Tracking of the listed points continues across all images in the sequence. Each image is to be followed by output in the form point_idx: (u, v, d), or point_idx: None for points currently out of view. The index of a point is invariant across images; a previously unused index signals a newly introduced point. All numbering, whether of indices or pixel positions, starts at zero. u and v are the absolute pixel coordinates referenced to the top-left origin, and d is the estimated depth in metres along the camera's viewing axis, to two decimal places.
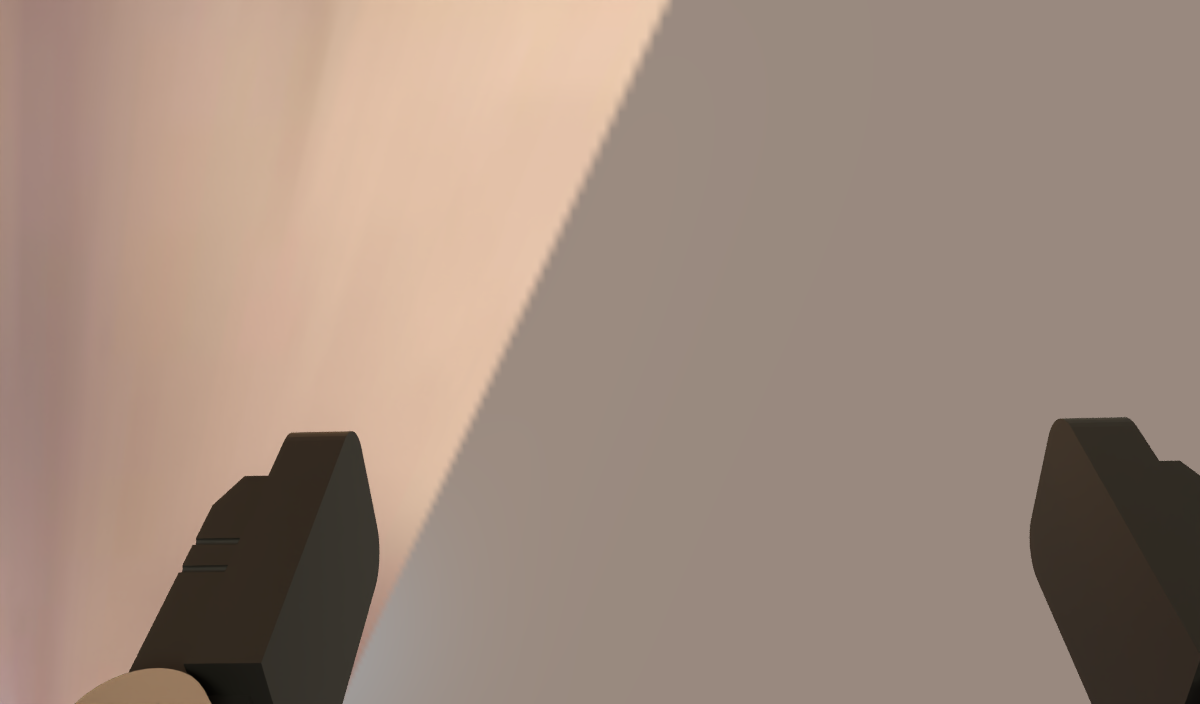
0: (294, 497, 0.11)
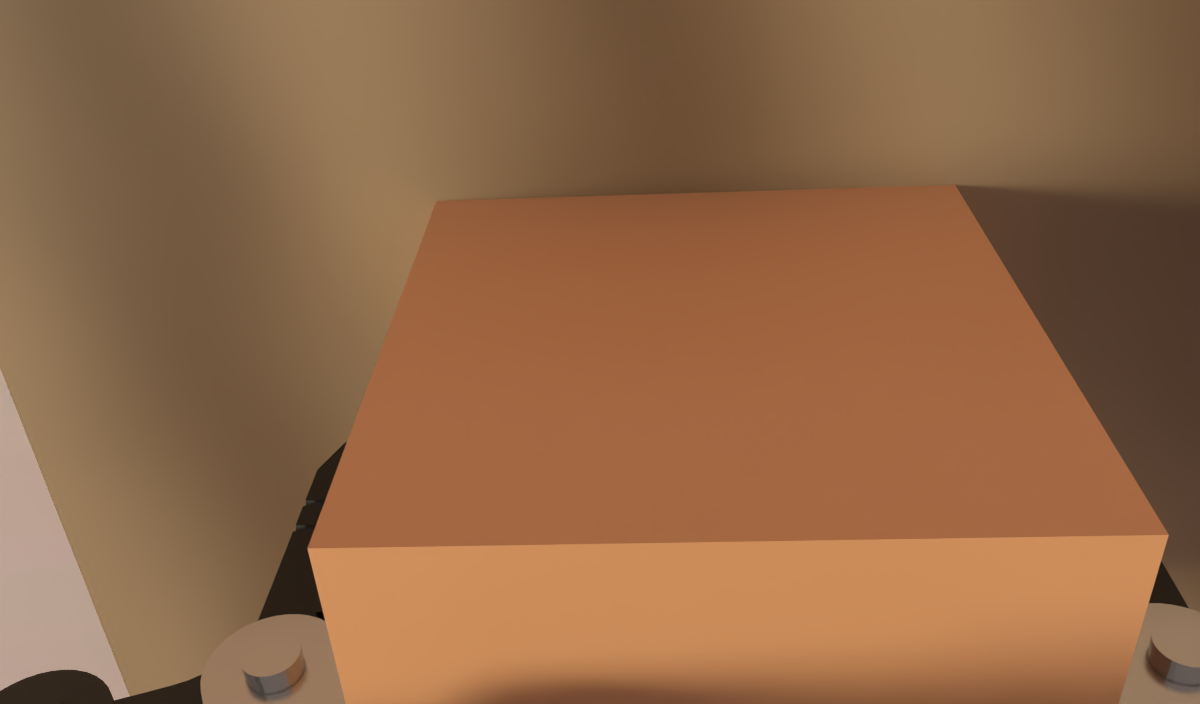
0: None
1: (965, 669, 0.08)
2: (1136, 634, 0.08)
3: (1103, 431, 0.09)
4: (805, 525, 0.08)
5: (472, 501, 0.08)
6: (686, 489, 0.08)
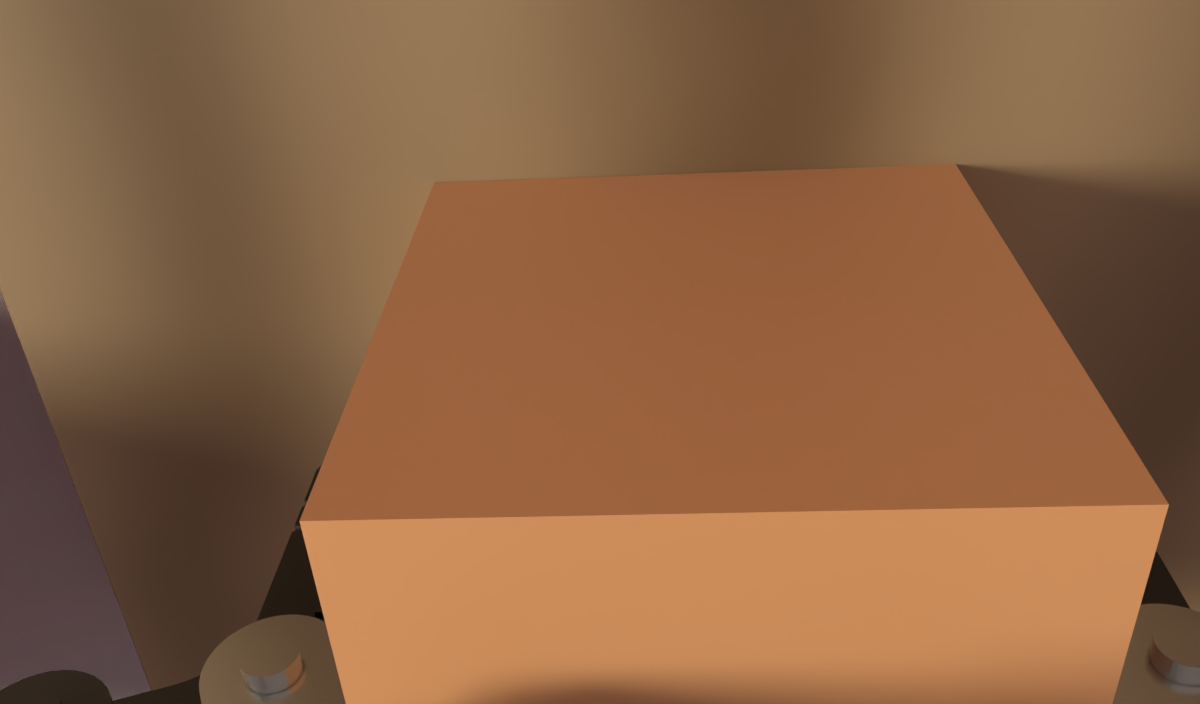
0: None
1: (498, 641, 0.08)
2: (441, 514, 0.08)
3: (338, 424, 0.09)
4: None
5: None
6: None
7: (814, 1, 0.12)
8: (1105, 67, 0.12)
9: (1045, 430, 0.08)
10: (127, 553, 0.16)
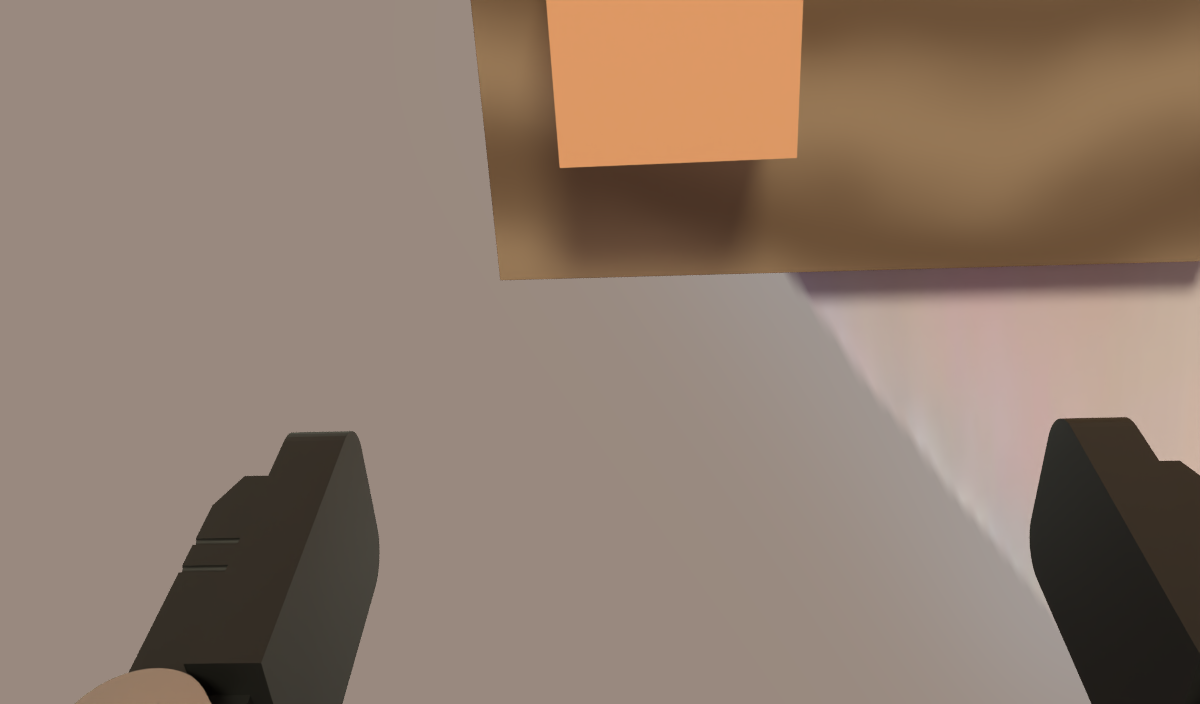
0: (294, 497, 0.11)
1: None
2: None
3: None
4: (548, 26, 0.26)
5: None
6: None
7: (837, 25, 0.32)
8: (803, 130, 0.34)
9: None
10: None
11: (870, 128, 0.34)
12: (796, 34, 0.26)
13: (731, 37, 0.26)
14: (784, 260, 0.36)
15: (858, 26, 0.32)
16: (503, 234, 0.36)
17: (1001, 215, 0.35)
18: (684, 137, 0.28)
